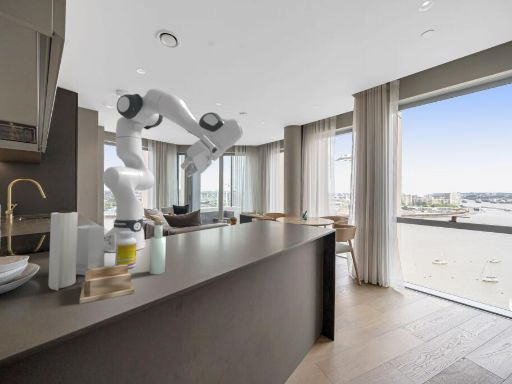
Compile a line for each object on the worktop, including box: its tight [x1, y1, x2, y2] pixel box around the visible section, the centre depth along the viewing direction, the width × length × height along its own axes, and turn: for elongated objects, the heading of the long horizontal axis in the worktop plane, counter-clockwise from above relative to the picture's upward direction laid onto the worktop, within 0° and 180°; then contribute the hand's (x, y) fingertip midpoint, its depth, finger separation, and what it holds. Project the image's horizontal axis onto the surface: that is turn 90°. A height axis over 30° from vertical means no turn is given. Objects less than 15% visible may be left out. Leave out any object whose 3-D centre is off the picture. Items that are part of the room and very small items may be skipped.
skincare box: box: [76, 224, 105, 276], centre depth 78 cm, size 8×7×16 cm
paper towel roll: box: [48, 211, 79, 291], centre depth 67 cm, size 7×6×21 cm
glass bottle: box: [148, 219, 167, 276], centre depth 80 cm, size 5×5×18 cm
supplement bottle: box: [114, 231, 137, 270], centre depth 85 cm, size 7×7×13 cm
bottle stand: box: [79, 264, 135, 304], centre depth 65 cm, size 12×12×5 cm
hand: (184, 171), depth 90 cm, fingers open, 8 cm apart
